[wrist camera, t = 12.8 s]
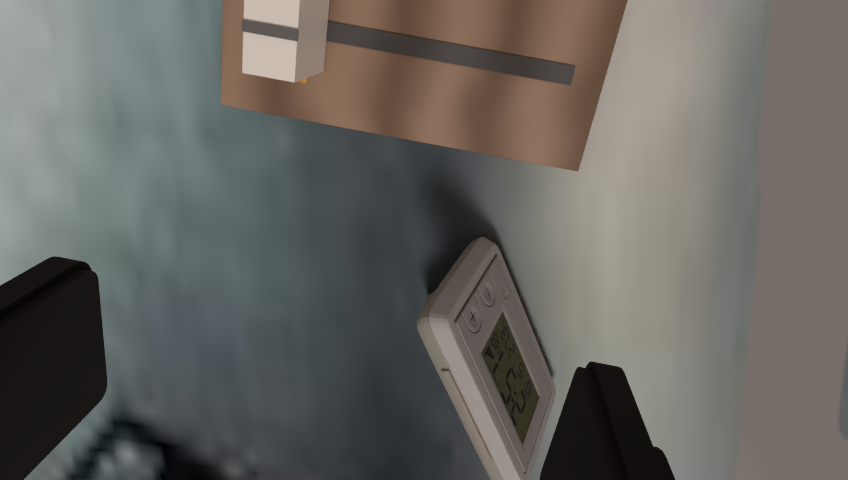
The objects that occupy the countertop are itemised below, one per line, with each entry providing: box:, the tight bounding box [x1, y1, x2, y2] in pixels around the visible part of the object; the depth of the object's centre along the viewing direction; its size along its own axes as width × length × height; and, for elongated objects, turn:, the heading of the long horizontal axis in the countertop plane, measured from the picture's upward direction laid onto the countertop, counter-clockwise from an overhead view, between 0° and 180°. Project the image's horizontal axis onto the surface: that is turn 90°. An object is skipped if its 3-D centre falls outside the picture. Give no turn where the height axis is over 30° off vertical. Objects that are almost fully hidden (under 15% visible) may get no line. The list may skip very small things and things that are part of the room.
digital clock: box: [417, 237, 555, 480], centre depth 40 cm, size 16×9×11 cm, turn 12°
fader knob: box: [242, 0, 330, 83], centre depth 32 cm, size 3×5×6 cm, turn 171°
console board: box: [222, 0, 627, 171], centre depth 36 cm, size 25×12×2 cm, turn 81°
